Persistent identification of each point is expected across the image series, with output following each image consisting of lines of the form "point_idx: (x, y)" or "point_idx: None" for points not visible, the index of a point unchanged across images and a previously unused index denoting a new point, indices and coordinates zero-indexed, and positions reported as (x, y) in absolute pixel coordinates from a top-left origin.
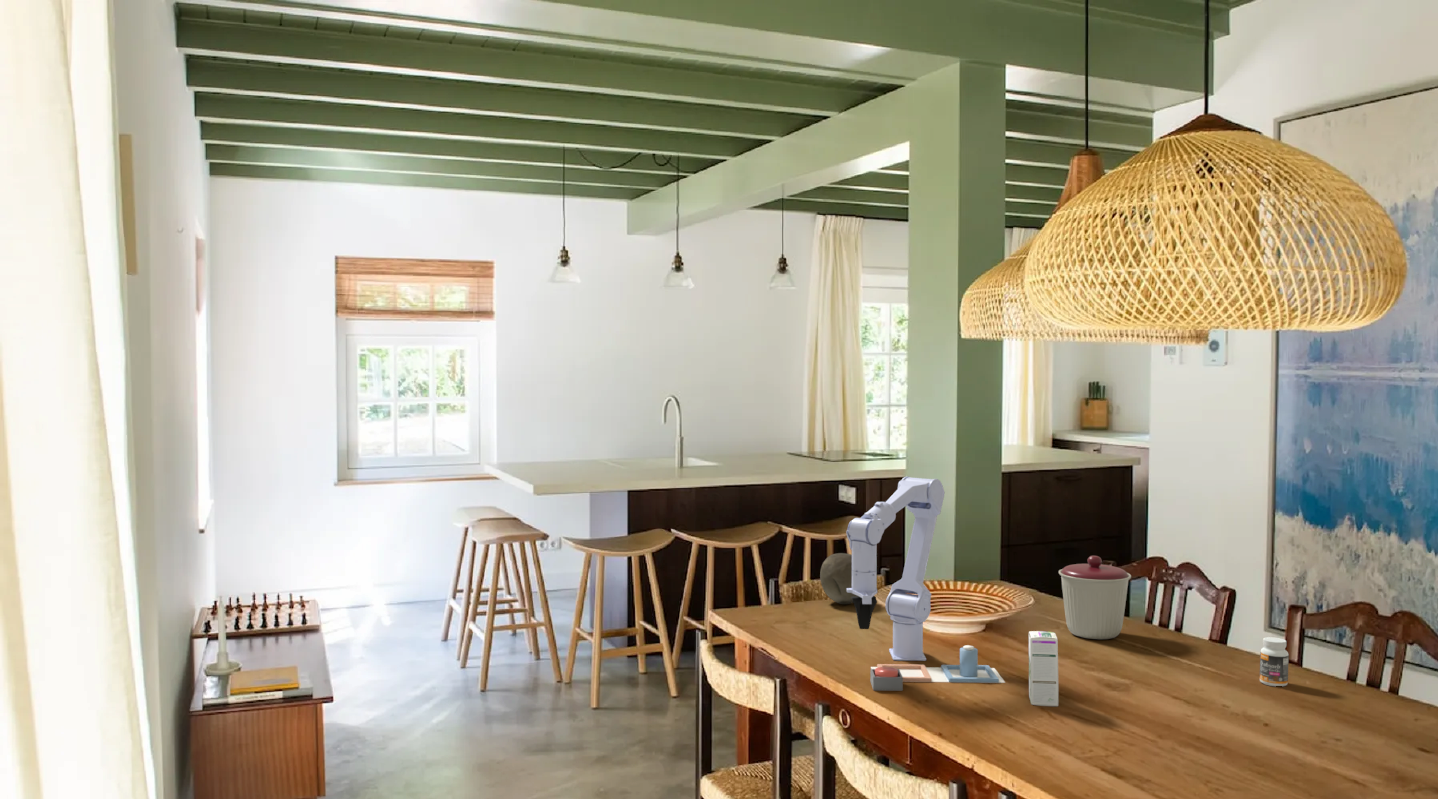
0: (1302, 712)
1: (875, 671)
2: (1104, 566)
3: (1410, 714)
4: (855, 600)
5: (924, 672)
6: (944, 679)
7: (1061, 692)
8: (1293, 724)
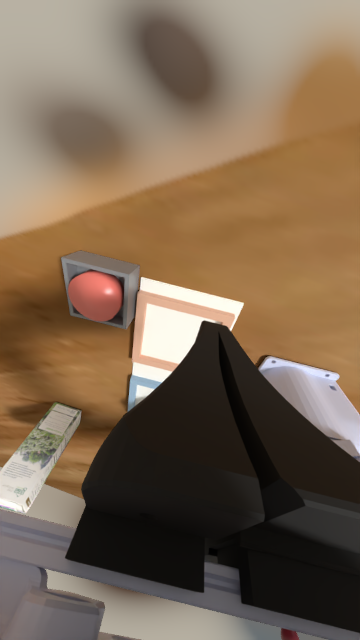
0: (74, 481)
1: (88, 274)
2: None
3: (79, 495)
4: (83, 484)
5: (162, 364)
6: (144, 374)
7: (100, 431)
8: (52, 471)
